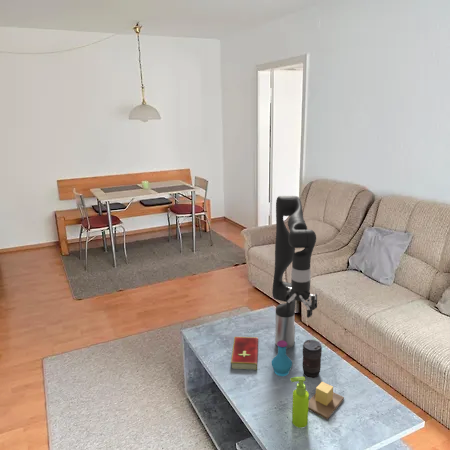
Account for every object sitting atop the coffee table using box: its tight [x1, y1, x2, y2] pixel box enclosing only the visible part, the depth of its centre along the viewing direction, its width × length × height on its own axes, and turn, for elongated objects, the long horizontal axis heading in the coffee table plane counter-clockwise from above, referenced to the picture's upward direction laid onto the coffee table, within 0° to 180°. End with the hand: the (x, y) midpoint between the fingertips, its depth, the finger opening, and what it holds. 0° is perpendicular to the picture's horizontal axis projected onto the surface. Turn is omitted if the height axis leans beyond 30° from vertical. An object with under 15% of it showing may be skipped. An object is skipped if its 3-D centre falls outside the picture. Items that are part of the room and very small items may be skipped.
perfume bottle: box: [271, 340, 293, 377], centre depth 181 cm, size 9×9×15 cm
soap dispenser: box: [290, 375, 310, 429], centre depth 152 cm, size 6×7×20 cm
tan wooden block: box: [315, 381, 334, 406], centre depth 163 cm, size 5×5×6 cm
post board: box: [308, 391, 345, 420], centre depth 163 cm, size 14×10×6 cm
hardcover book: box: [230, 336, 259, 371], centre depth 195 cm, size 12×21×4 cm, turn 174°
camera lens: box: [302, 339, 323, 379], centre depth 179 cm, size 8×8×15 cm
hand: (299, 313), depth 167 cm, fingers open, 8 cm apart
